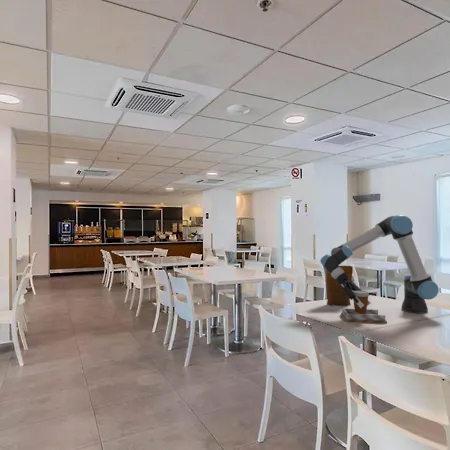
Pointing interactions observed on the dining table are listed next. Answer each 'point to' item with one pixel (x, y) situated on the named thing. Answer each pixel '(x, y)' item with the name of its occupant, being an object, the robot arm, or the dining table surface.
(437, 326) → the dining table surface
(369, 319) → the rail board
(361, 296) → the disposable coffee cup
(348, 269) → the pancake mix bag
